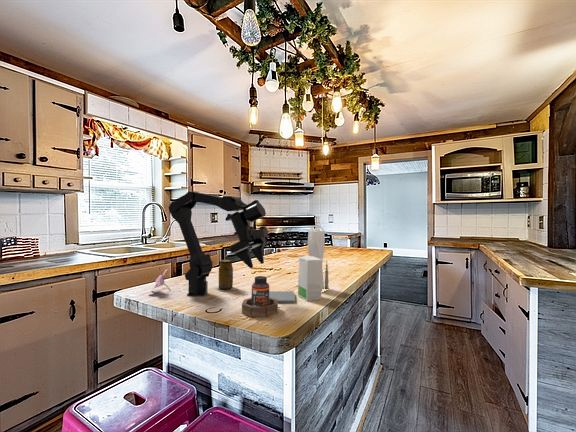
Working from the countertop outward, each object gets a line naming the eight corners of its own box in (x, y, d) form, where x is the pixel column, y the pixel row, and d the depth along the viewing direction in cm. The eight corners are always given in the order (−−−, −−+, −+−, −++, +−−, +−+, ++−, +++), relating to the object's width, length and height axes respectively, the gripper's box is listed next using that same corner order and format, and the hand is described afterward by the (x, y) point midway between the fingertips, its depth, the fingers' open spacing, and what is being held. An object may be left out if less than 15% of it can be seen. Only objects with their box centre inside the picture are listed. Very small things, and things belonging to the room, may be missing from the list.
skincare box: (297, 295, 112) (297, 256, 112) (312, 293, 114) (312, 255, 114) (307, 301, 104) (307, 259, 104) (322, 299, 107) (323, 258, 107)
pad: (262, 303, 102) (262, 300, 102) (264, 293, 114) (264, 291, 114) (295, 303, 102) (295, 300, 102) (293, 293, 114) (293, 291, 114)
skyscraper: (321, 294, 115) (322, 225, 114) (303, 291, 119) (304, 225, 118) (329, 289, 122) (329, 225, 122) (312, 287, 126) (312, 224, 126)
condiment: (229, 285, 127) (229, 258, 127) (238, 289, 121) (238, 261, 121) (214, 287, 123) (214, 260, 123) (223, 292, 116) (223, 263, 116)
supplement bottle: (255, 315, 90) (255, 280, 90) (248, 309, 95) (248, 276, 95) (272, 312, 93) (272, 278, 93) (265, 306, 98) (265, 274, 98)
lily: (161, 289, 123) (149, 271, 120) (184, 280, 122) (173, 261, 119) (148, 306, 112) (135, 287, 109) (174, 296, 110) (161, 276, 108)
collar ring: (240, 317, 88) (240, 307, 88) (245, 305, 100) (245, 296, 100) (277, 317, 88) (277, 307, 88) (277, 305, 100) (278, 296, 100)
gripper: (247, 219, 95) (265, 262, 93) (269, 218, 113) (284, 254, 111) (222, 231, 99) (238, 273, 97) (247, 229, 116) (261, 264, 114)
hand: (257, 265), depth 104 cm, fingers open, 9 cm apart
